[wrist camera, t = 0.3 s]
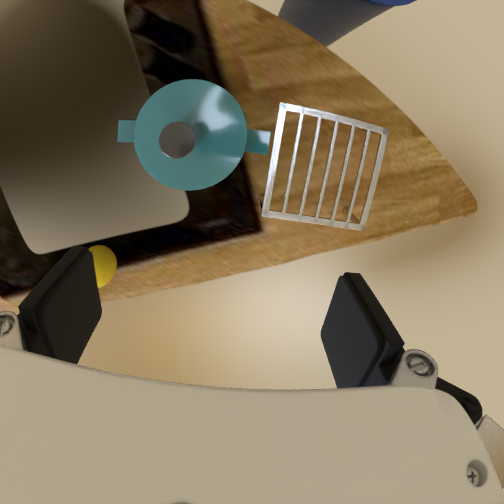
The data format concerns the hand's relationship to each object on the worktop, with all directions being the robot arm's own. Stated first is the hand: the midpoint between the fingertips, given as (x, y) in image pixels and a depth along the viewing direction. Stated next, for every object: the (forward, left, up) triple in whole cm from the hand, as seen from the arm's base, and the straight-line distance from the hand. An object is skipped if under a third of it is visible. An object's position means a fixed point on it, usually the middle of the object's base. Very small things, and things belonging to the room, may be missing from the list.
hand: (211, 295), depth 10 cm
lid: (-4, -4, -20) cm, 21 cm away
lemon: (+15, -17, -29) cm, 37 cm away
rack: (-2, +11, -29) cm, 31 cm away
